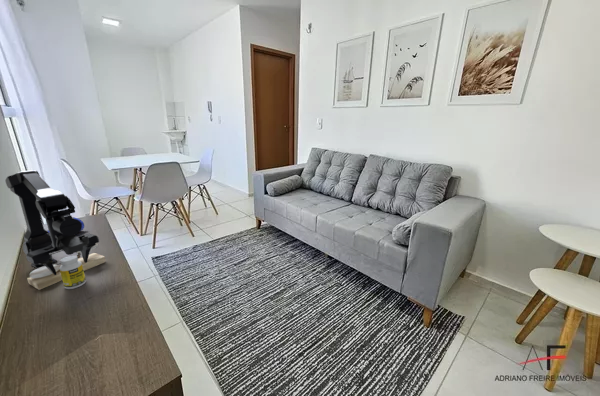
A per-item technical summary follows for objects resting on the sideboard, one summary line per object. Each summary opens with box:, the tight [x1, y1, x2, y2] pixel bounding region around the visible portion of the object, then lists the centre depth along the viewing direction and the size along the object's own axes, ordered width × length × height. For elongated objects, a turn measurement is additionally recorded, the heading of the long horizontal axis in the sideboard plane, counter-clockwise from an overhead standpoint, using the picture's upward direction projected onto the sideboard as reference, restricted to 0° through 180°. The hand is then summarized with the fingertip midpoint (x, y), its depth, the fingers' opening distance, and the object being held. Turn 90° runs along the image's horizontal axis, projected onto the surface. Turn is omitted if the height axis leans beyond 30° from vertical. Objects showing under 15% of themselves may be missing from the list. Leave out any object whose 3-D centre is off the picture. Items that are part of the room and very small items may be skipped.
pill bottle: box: [59, 254, 87, 290], centre depth 92 cm, size 6×6×11 cm
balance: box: [27, 242, 107, 291], centre depth 101 cm, size 8×22×8 cm, turn 155°
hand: (71, 268), depth 92 cm, fingers open, 9 cm apart
